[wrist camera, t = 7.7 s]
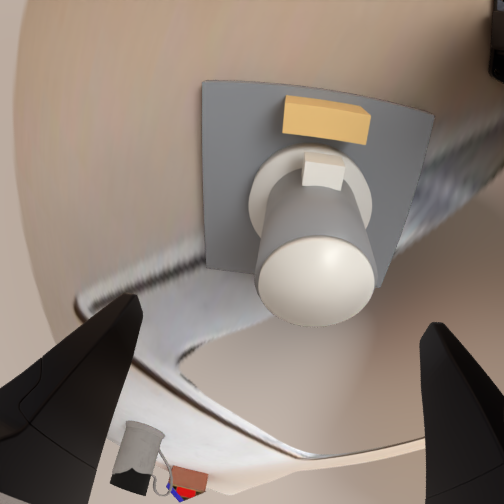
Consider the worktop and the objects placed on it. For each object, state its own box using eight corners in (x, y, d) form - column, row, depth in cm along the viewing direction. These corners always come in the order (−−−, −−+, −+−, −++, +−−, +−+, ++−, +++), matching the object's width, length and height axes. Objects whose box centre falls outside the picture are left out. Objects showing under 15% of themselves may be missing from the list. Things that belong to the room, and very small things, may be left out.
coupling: (341, 264, 19) (352, 347, 14) (262, 254, 19) (249, 337, 14) (368, 155, 15) (405, 220, 10) (272, 142, 15) (259, 200, 10)
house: (209, 473, 78) (203, 504, 69) (201, 479, 90) (195, 506, 81) (172, 464, 77) (165, 495, 68) (169, 471, 89) (163, 498, 80)
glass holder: (137, 419, 51) (116, 484, 39) (193, 445, 56) (179, 505, 44) (119, 422, 55) (100, 480, 43) (171, 446, 60) (157, 500, 48)
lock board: (428, 112, 15) (454, 127, 12) (377, 278, 23) (386, 312, 20) (206, 80, 15) (187, 87, 13) (209, 259, 23) (198, 292, 21)
